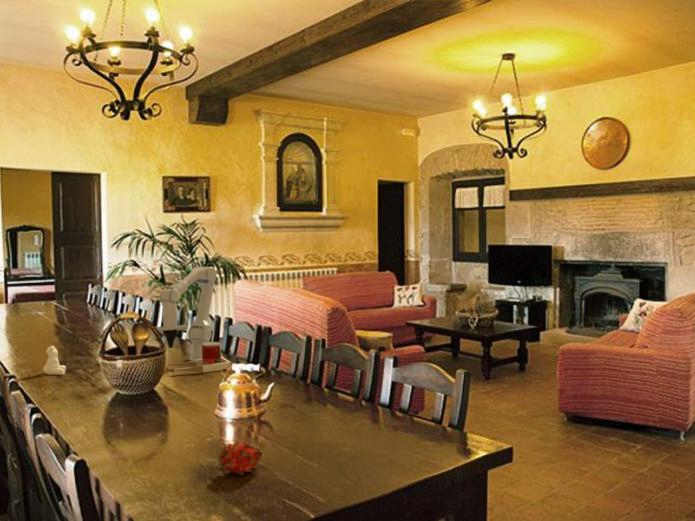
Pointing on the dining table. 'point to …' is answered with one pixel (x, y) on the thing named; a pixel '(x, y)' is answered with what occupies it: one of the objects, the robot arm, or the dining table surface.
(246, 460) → the dragon fruit
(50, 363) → the white creature statuette
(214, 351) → the canned food
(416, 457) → the dining table surface
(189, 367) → the rail channel
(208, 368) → the open frame
